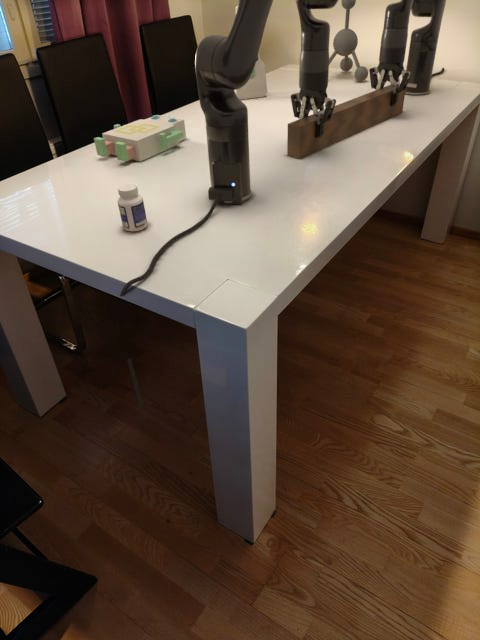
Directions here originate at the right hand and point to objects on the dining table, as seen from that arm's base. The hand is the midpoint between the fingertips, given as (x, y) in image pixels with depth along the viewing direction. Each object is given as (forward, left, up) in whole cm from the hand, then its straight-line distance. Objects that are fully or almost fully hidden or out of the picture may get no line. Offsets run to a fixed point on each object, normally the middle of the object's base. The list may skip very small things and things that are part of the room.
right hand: (385, 104), depth 157 cm
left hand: (+38, -8, 0) cm, 39 cm away
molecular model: (-45, -36, -4) cm, 58 cm away
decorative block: (+58, -53, -4) cm, 79 cm away
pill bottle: (+98, -21, -4) cm, 100 cm away
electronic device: (-6, -56, -4) cm, 57 cm away
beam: (+19, -4, -4) cm, 20 cm away
